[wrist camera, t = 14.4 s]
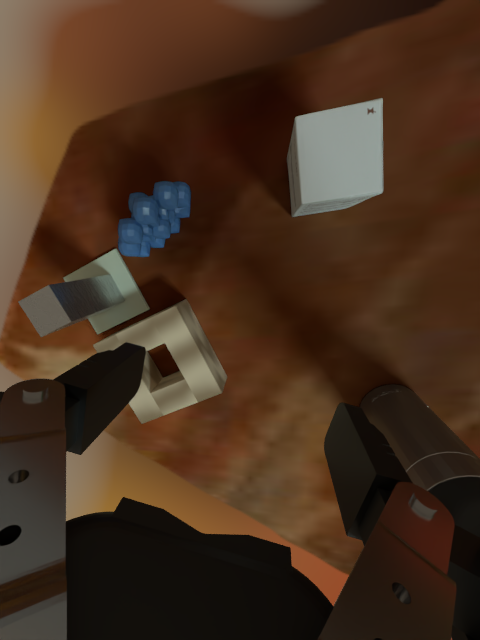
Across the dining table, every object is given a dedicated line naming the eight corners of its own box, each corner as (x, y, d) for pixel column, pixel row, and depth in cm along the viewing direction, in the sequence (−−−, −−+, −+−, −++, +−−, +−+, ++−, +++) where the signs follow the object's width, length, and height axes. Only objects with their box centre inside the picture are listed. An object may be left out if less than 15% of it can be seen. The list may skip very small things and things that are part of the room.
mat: (150, 308, 42) (149, 309, 42) (99, 333, 44) (97, 334, 44) (116, 248, 40) (115, 248, 40) (64, 277, 43) (63, 277, 42)
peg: (125, 301, 42) (71, 321, 31) (102, 312, 43) (41, 337, 31) (110, 274, 41) (48, 285, 30) (87, 286, 42) (18, 301, 31)
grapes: (179, 169, 37) (138, 134, 25) (213, 209, 38) (189, 192, 26) (124, 230, 40) (65, 224, 28) (157, 266, 41) (112, 274, 29)
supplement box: (285, 158, 35) (293, 111, 23) (345, 147, 34) (386, 93, 22) (289, 218, 37) (299, 205, 25) (346, 210, 36) (386, 192, 24)
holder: (227, 376, 44) (222, 392, 39) (154, 405, 47) (141, 423, 42) (186, 298, 41) (175, 305, 37) (112, 334, 44) (92, 345, 39)
